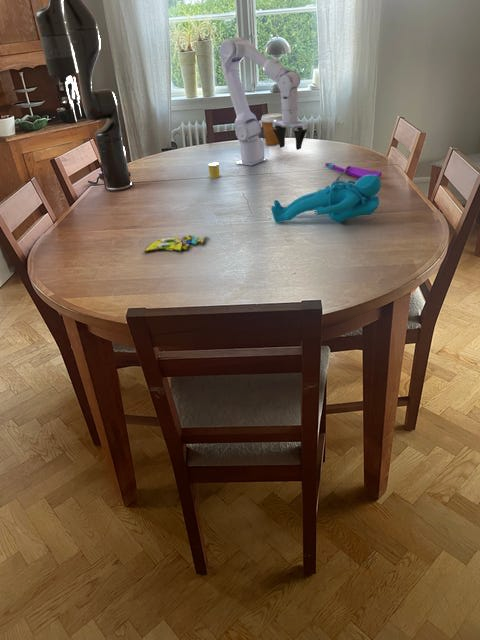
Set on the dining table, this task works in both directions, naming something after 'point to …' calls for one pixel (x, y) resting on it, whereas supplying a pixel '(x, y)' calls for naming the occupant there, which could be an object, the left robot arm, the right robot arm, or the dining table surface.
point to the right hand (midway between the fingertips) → (290, 148)
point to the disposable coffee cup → (270, 127)
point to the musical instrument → (353, 171)
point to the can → (214, 170)
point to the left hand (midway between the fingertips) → (75, 120)
